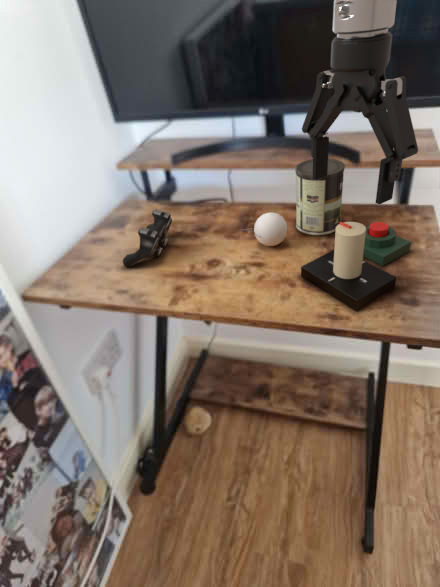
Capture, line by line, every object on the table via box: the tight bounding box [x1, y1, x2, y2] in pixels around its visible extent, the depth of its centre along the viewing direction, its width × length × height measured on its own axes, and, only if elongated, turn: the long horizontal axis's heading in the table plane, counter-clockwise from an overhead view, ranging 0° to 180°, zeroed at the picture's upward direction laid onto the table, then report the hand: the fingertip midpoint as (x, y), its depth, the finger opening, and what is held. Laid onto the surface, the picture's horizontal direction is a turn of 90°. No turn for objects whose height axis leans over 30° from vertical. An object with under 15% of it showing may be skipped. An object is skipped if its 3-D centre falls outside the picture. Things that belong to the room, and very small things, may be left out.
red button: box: [369, 221, 390, 238], centre depth 81 cm, size 4×4×2 cm
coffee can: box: [294, 157, 346, 236], centre depth 91 cm, size 10×10×14 cm
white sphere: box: [242, 212, 288, 247], centre depth 89 cm, size 10×7×7 cm
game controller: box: [122, 209, 173, 268], centre depth 92 cm, size 16×7×10 cm, turn 167°
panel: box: [300, 249, 398, 312], centre depth 75 cm, size 14×10×3 cm
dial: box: [333, 221, 366, 279], centre depth 72 cm, size 5×5×9 cm
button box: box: [363, 224, 412, 267], centre depth 83 cm, size 10×8×4 cm
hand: (349, 188), depth 65 cm, fingers open, 13 cm apart
